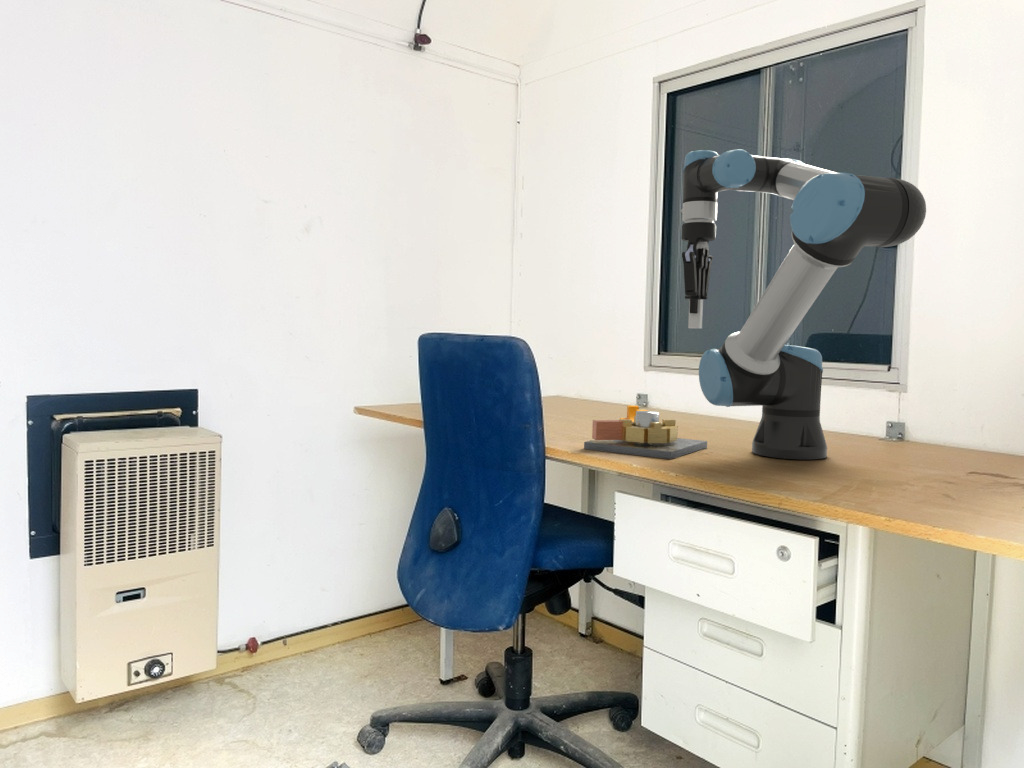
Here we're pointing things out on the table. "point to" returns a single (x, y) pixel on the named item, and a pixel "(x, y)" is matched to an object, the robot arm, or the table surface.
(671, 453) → the flange plate
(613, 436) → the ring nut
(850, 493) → the table surface
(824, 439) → the robot arm
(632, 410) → the pipe clamp
